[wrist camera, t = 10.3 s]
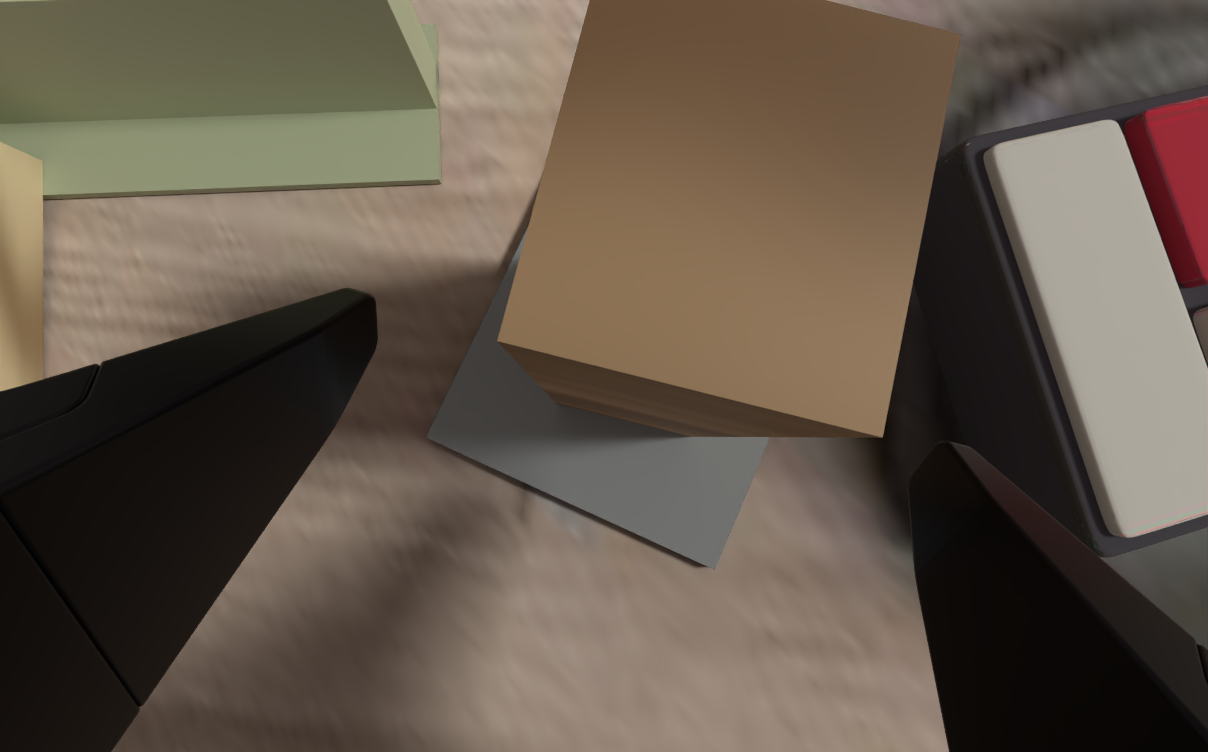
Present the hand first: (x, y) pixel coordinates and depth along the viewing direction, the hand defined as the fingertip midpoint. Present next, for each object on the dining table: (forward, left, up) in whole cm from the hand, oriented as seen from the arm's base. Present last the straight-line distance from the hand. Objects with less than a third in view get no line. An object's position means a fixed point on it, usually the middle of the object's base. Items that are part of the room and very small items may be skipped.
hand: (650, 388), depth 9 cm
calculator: (+10, -14, -9) cm, 19 cm away
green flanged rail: (+2, +17, -8) cm, 19 cm away
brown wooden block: (+2, 0, -8) cm, 8 cm away
